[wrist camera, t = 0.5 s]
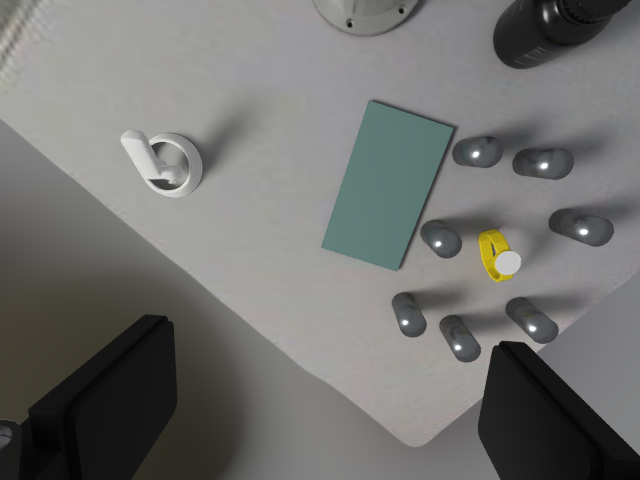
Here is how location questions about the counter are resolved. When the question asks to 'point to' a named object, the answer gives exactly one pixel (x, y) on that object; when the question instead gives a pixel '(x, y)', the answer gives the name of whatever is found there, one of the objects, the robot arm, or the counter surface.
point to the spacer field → (450, 243)
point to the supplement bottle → (549, 28)
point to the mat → (385, 185)
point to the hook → (157, 167)
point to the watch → (498, 256)
